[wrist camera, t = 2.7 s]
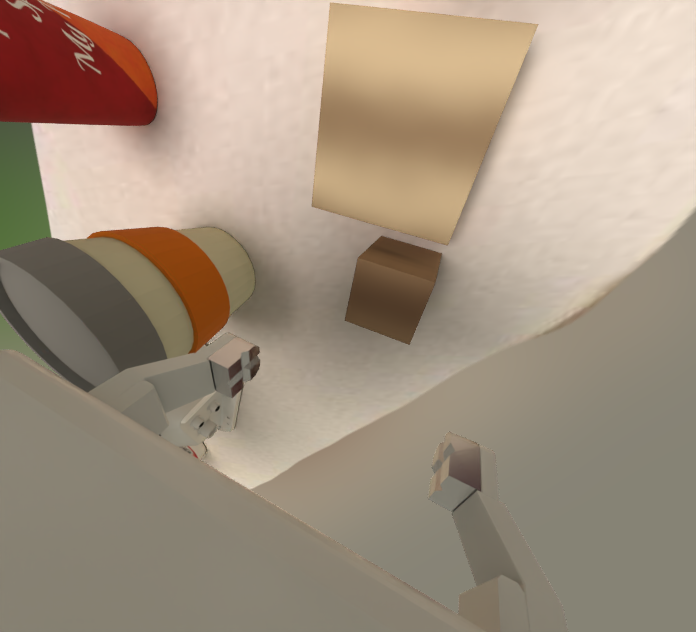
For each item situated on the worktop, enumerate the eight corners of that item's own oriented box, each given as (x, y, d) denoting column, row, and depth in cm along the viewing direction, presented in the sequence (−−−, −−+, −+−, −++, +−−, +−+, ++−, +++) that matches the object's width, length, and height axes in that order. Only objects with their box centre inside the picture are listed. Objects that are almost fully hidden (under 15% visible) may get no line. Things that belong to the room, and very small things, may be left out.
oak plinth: (449, 234, 19) (447, 245, 17) (328, 201, 21) (311, 206, 19) (524, 48, 14) (538, 24, 11) (350, 26, 16) (330, 2, 13)
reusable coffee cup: (282, 252, 25) (121, 335, 13) (255, 333, 33) (136, 432, 21) (179, 183, 26) (-66, 204, 14) (176, 279, 33) (15, 345, 21)
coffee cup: (165, 39, 20) (-294, -146, 8) (170, 156, 25) (-107, 152, 13) (80, -6, 20) (-467, -242, 8) (101, 117, 25) (-225, 78, 13)
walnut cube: (420, 306, 23) (409, 344, 18) (368, 288, 24) (344, 320, 19) (442, 253, 20) (435, 282, 15) (381, 235, 21) (357, 257, 16)
